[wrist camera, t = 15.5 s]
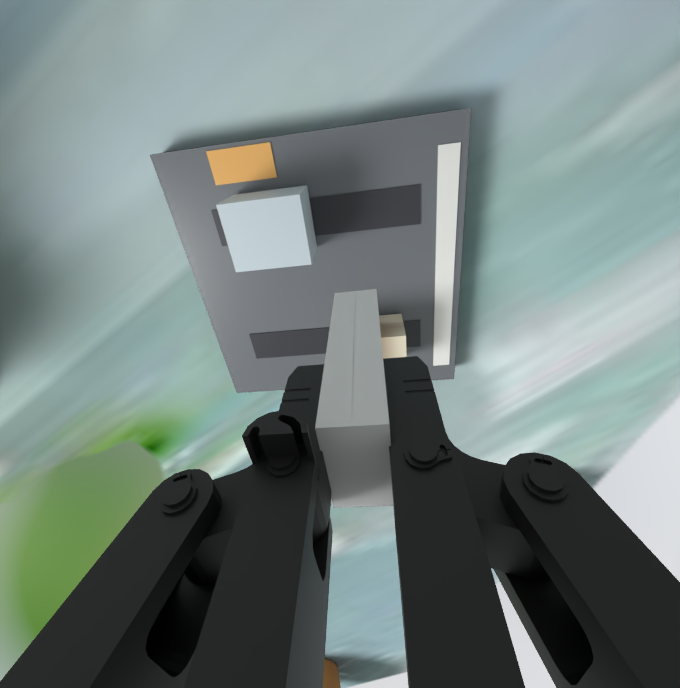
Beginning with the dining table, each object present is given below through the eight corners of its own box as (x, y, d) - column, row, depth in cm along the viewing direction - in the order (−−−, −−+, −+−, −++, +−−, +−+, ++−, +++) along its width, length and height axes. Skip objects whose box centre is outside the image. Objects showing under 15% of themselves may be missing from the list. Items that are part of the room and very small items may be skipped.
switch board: (242, 381, 41) (236, 393, 40) (162, 152, 29) (149, 155, 27) (450, 367, 39) (454, 379, 37) (463, 108, 26) (471, 108, 24)
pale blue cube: (249, 255, 31) (236, 272, 27) (233, 194, 28) (215, 204, 25) (317, 248, 30) (311, 264, 27) (307, 185, 27) (299, 194, 24)
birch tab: (344, 361, 36) (342, 386, 33) (338, 318, 34) (335, 341, 30) (402, 357, 36) (407, 381, 32) (401, 313, 33) (405, 335, 30)
